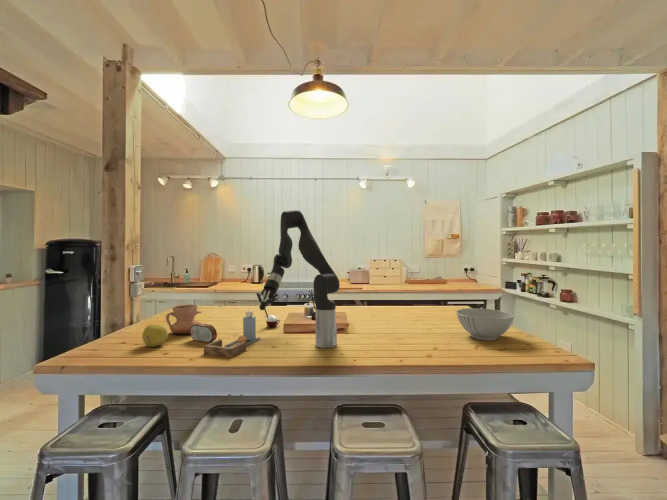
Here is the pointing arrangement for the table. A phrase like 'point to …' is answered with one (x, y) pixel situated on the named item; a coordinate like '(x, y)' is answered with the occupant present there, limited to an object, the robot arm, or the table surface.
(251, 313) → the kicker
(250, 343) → the lane
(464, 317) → the decorative bowl
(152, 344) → the fruit
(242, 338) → the ball
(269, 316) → the cocoa
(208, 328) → the tin
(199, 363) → the table surface
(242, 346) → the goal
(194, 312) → the ceramic jug
